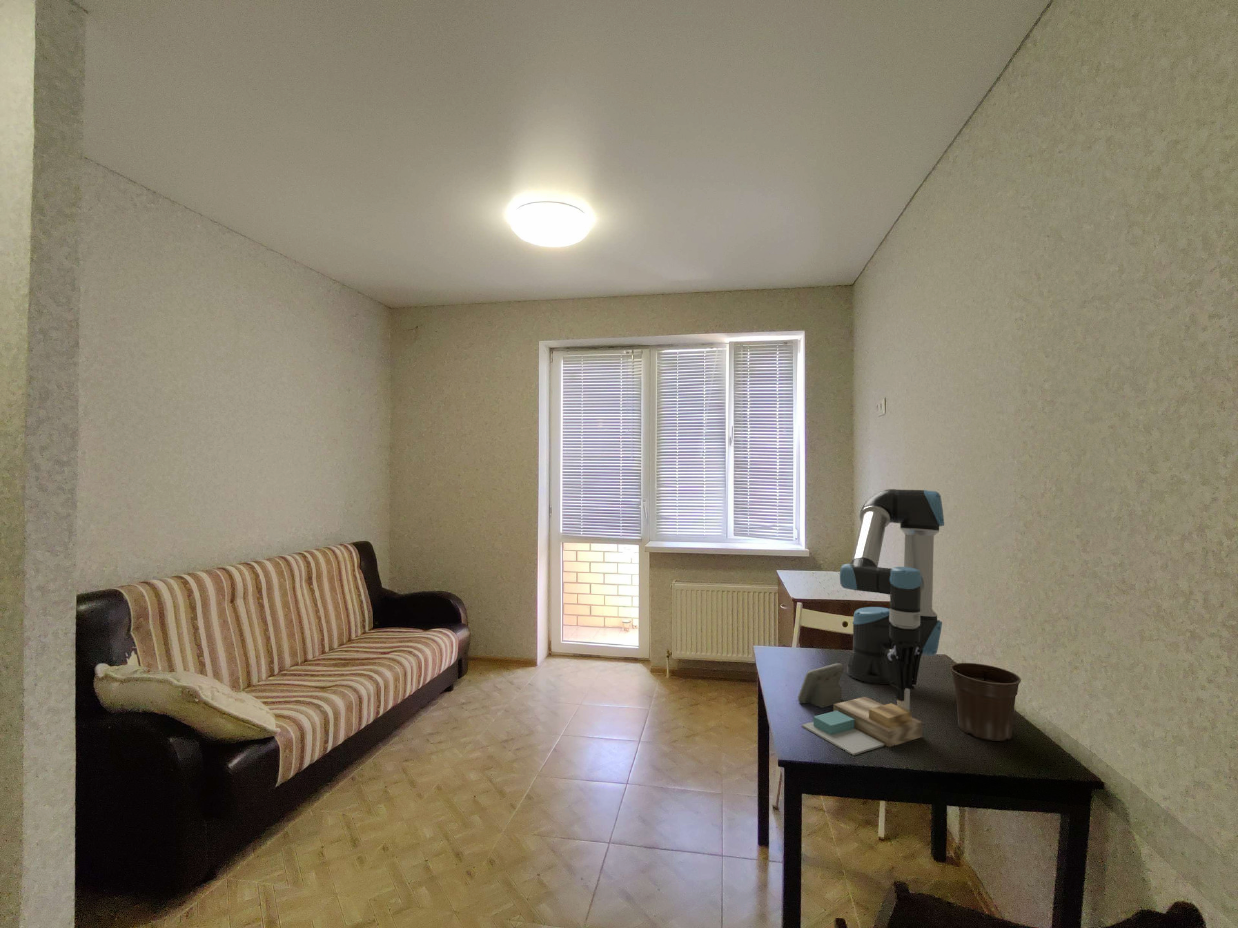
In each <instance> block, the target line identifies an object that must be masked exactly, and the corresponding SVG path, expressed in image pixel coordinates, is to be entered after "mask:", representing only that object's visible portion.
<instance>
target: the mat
mask: <svg viewBox="0 0 1238 928" xmlns="http://www.w3.org/2000/svg"><path fill="white" fill-rule="evenodd" d="M801 727H802V728H804V729H805V730H807V731H808V732H811V733H813V734H814V735H816V736H818V737H820V738H822V739H823V740H825V741H827V742H829V743H830V744H832V745H833V746H835V747H838V748H839V749H841V750H842V749H843V750H842V751H844V750H845V751H844V752H846V753H847V754H850V755H851V754H852V756H856V755H860V754H862V753H866V752H868V751H871V750H875V749H879V748H882V747H885V745H884V743H882V742H880V741H878V740H876V739H874V738H872V737H870V736H868V735H866V734H864V733H862V732H860V731H858V730H856V729H851V730H847V731H844V732H840V733H836V734H833V735H830V734H828V733H826V732H824V731H822V730H820V729H819V728H817V727H815V726H813V721H811V722H807V723H804V724H801Z"/></svg>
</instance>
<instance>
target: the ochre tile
mask: <svg viewBox="0 0 1238 928" xmlns="http://www.w3.org/2000/svg"><path fill="white" fill-rule="evenodd" d="M911 717H912V711H908V710H906V709H903V708H901V707H899V706H897V704H894V703H892V702H891V703H887V704H883V706H879V707H875V708H871V709H869V719H871V720H873V721H875V722H877V723H880V724H882V725H884V726H886V727H888V728H890V727H893V726H897V725H900V724H903V723H907V722H910V721H911Z"/></svg>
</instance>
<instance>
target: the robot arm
mask: <svg viewBox="0 0 1238 928" xmlns="http://www.w3.org/2000/svg"><path fill="white" fill-rule="evenodd" d="M943 508H944V507H943V502H942V495H941V494H940V493H939V492H938V491H936V490H926V489H923V490H922V489H895V488H888V489H884V490H881V491H879V492H877V493H875V494H873V495H872V496H871V497H869V498H868V499H867V500H866V501H865V502H864V504H863V505H862V507H861V509H860V513H859V521H860V525H859V529H858V533H857V537H856V538H857V539H856V542H855V545H854V548H853V553H852V557H851V560H850V563H844V564H842V565H841V567H840V570H839V571H840V572H839V583H840V586H841V588H843V589H846V590H851V591H857V592H867V593H875V594H883V595H884V594H885V595H889V608H887V607H883V606H882V607H881V606H867V607H859V608H858V609H856V610H855V611H854V613H853V621H852V630H853V631H852V652H851V655H850V657H849V660H848V663H847V667H846V673H847V676H849V677H850V676H851V677H850V678H852V679H854V678H855V680H856V679H858V680H857V681H859V680H860V682H862V681H865V682H864V683H866V682H867V684H872V683H875V684H874V685H890V686H892V687H895V688H896V705H897V706H899V707H901V708H903V709H906V710H908V711H910V706H911V705H910V703H911V690H914V689H915V686H916V685H917V682H918V681H917V680H918V675H919V670H920V662H921V658H922V656H928V657H933V656H936V655H937V653H938V650H939V644H940V638H941V633H942V627H943V622H942V621H941V620H940V619H938V613H936V612H935V610H934V609H933V596H934V595H933V592H934V591H933V588H934V587H933V586H934V583H933V582H934V548H935V547H934V546H935V545H934V544H935V543H934V542H935V541H934V540H935V535H937V534H938V533H939V532H940V527H944V526H945V515H944V509H943ZM891 523H892V524H900V525H899V528H900V530H901V531H902V533H904V557H903V558H904V559H903V561H904V562H903V566H894V567H892V568H889V567H880V566H879V562H880V557H881V552H882V546H883V543H884V541H883V540H884V536H885V532H886V527H888V526H889V524H891ZM913 685H914V686H913ZM910 712H911V711H910Z"/></svg>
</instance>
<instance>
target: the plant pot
mask: <svg viewBox="0 0 1238 928" xmlns="http://www.w3.org/2000/svg"><path fill="white" fill-rule="evenodd" d="M949 669H950V671H951V673H952V681H953V684H954V688H955V689H954V691H955V701H956V709H957V721H958V722H957V725H958V728H959V729H960V730H961V731H963V732H964V733H965V734H971V735H973V736H974V737H976V738H979V739H982V740H986V741H990V742H991V741H992V742H1004V741H1006V740H1010V739H1011V738H1012V734H1013V733H1012V732H1013V731H1012V730H1013V723H1014V712H1015V704H1016V696H1017V695H1018V692H1019V685H1020V684H1021V683H1022V682H1021V681H1022V678H1021V677H1020V676H1019V675H1017V674H1016V673H1014V672H1012V671H1010V670H1006V669H1004V668H1002V667H997V666H993V665H989V664H988V665H987V664H983V663H974V662H959V663H958V662H957V663H953V664H951V665H950V668H949Z"/></svg>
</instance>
